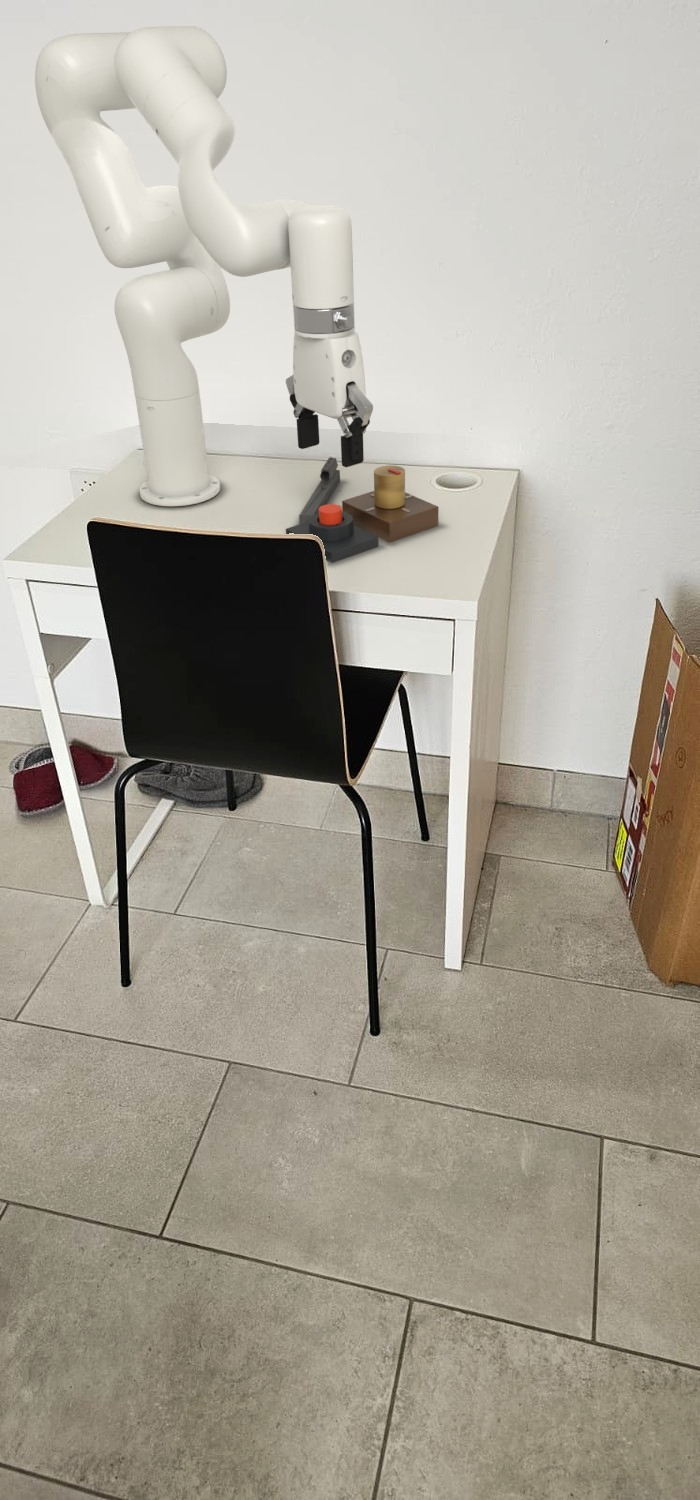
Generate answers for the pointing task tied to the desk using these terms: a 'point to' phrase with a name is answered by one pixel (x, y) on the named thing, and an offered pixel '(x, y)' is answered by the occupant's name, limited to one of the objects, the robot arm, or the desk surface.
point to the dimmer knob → (389, 487)
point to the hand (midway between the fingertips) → (330, 455)
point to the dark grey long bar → (322, 490)
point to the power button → (330, 514)
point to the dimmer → (391, 516)
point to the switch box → (338, 537)
